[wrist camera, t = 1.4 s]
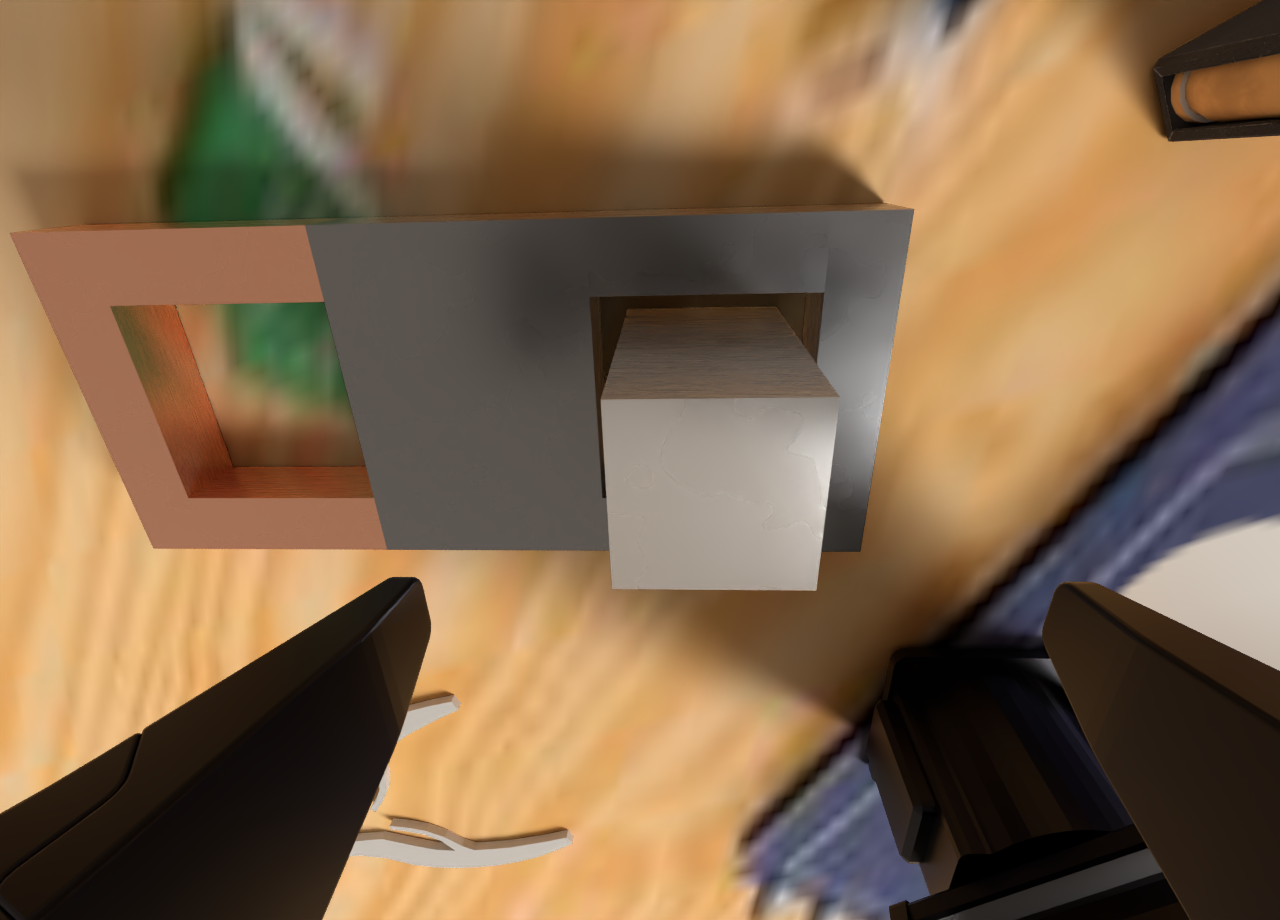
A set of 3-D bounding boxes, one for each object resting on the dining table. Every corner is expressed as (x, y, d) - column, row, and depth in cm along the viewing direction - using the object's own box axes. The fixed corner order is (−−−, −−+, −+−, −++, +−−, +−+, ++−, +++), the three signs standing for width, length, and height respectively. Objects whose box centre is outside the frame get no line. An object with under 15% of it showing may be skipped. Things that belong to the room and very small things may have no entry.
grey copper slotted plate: (886, 203, 15) (914, 209, 13) (842, 515, 19) (860, 551, 17) (82, 224, 16) (9, 233, 15) (199, 513, 20) (153, 548, 18)
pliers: (572, 867, 26) (303, 937, 30) (577, 831, 27) (320, 902, 31) (439, 716, 22) (150, 817, 26) (453, 682, 24) (177, 783, 27)
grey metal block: (776, 305, 16) (839, 397, 10) (766, 441, 18) (816, 590, 12) (627, 308, 17) (600, 399, 10) (632, 442, 18) (611, 588, 12)
